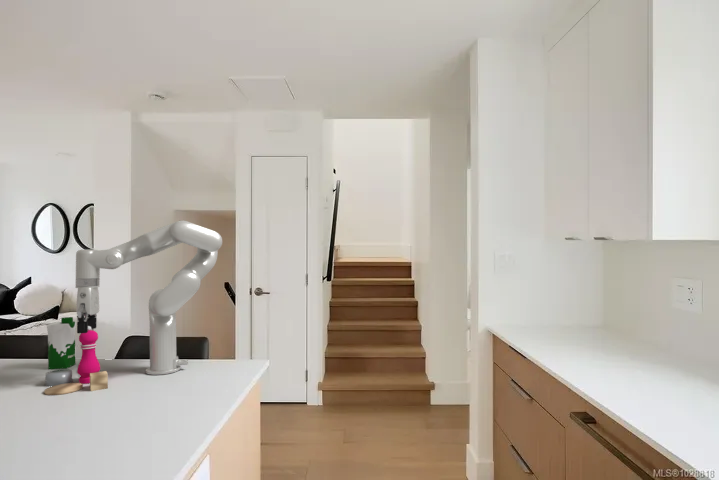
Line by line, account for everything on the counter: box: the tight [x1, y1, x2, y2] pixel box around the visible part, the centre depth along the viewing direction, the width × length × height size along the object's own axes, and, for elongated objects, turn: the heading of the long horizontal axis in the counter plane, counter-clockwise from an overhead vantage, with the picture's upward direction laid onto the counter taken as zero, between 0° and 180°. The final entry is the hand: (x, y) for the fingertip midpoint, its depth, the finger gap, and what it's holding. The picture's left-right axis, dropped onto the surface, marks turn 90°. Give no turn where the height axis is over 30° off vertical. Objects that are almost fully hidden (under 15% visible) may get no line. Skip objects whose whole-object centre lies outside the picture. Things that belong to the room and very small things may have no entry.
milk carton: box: [46, 316, 77, 370], centre depth 188 cm, size 9×9×20 cm
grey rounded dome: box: [45, 368, 73, 387], centre depth 165 cm, size 8×8×4 cm
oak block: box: [89, 370, 109, 392], centre depth 158 cm, size 5×5×5 cm
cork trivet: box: [43, 382, 84, 396], centre depth 156 cm, size 11×11×1 cm
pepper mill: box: [76, 326, 101, 385], centre depth 166 cm, size 7×7×20 cm
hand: (87, 330), depth 166 cm, fingers open, 9 cm apart
